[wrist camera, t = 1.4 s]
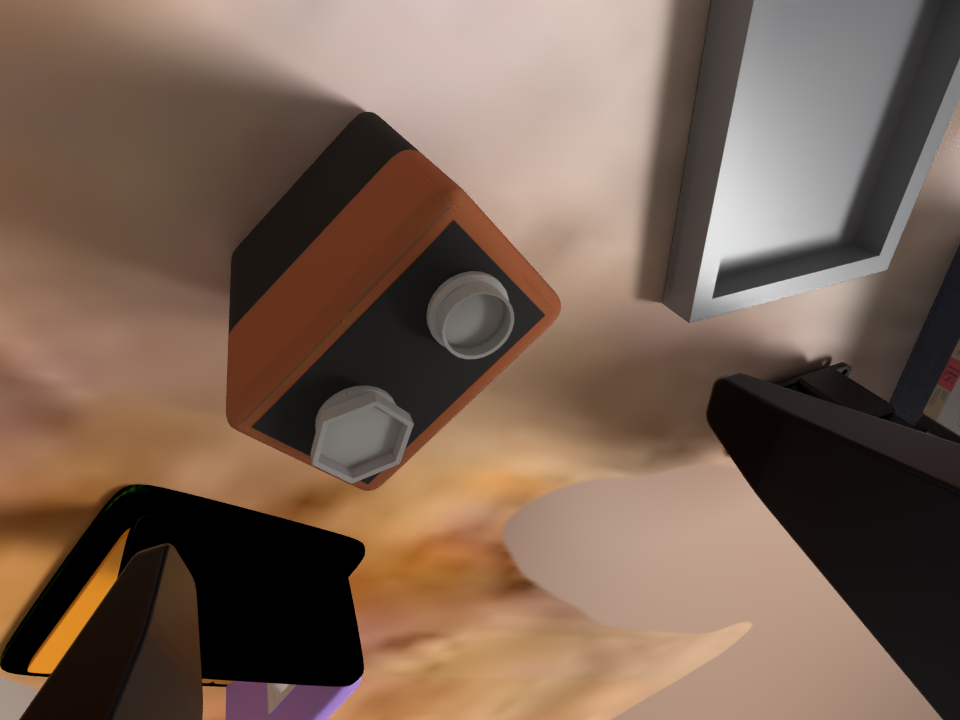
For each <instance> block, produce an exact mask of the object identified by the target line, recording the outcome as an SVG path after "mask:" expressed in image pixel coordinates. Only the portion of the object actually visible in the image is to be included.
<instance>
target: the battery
mask: <svg viewBox="0 0 960 720" xmlns="http://www.w3.org/2000/svg"><path fill="white" fill-rule="evenodd" d="M560 310H561V303H560V299H559V297H558V296H557V294H556V293H555V292H554V290H553V289H552V288H551V287H550V286H549V285H548V283H547V282H546V281H545V280H544V279H543V278H542V277H541V276H540V275H539V273H538V272H537V271H536V270H535V269H534V268H533V267H532V266H531V265H530V263H529V262H528V261H527V260H526V259H525V258H524V257H523V256H522V255H521V253H520V252H519V251H518V250H517V249H516V248H515V247H514V246H513V245H512V243H511V242H510V241H509V240H508V239H507V238H506V237H505V236H504V235H503V233H502V232H501V231H500V230H499V229H498V228H497V227H496V226H495V225H494V223H493V222H492V221H491V220H490V219H489V218H488V217H487V216H486V214H485V213H484V212H483V211H482V210H481V209H480V208H479V207H478V206H477V204H476V203H475V202H474V201H473V200H472V199H471V198H470V197H469V196H468V195H467V194H466V192H465V191H464V190H463V189H462V188H461V187H459V186H458V185H457V184H456V183H455V182H454V181H453V180H451V179H450V178H449V177H448V176H447V175H446V174H445V173H443V172H442V171H441V170H440V169H439V168H438V167H437V166H435V165H434V164H433V163H432V162H431V161H430V160H428V159H427V158H426V157H425V156H424V155H423V154H422V153H420V152H419V151H418V150H417V149H416V148H415V147H414V146H412V145H411V144H410V143H409V142H408V141H407V140H405V139H404V138H403V137H402V136H401V135H400V134H399V133H397V132H396V131H395V130H394V129H393V128H392V127H391V126H389V125H388V124H387V123H386V122H385V121H384V120H383V119H381V118H380V117H379V116H378V115H376V114H375V113H372V112H364V113H361V114H359V115H358V116H356V117H355V118H354V119H353V120H352V121H351V122H350V123H349V124H348V126H347V127H346V128H345V129H344V130H343V131H342V132H341V133H340V134H339V135H338V136H337V138H336V139H335V140H334V141H333V142H332V143H331V144H330V145H329V146H328V148H327V149H326V150H325V151H324V152H323V153H322V154H321V155H320V156H319V157H318V159H317V160H316V161H315V162H314V163H313V164H312V165H311V166H310V167H309V169H308V170H307V171H306V172H305V173H304V174H303V175H302V176H301V177H300V178H299V180H298V181H297V182H296V183H295V184H294V185H293V186H292V187H291V188H290V190H289V191H288V192H287V193H286V194H285V195H284V196H283V197H282V198H281V199H280V201H279V202H278V203H277V204H276V205H275V206H274V207H273V208H272V209H271V211H270V212H269V213H268V214H267V215H266V216H265V217H264V218H263V219H262V220H261V222H260V223H259V224H258V225H257V226H256V227H255V228H254V229H253V230H252V232H251V233H250V234H249V235H248V236H247V237H246V238H245V239H244V240H243V242H242V243H241V244H240V245H239V246H238V247H237V248H236V250H235V251H234V253H233V255H232V259H231V281H230V310H229V339H228V367H227V396H226V416H227V420H228V423H229V424H230V426H231V427H233V428H234V429H236V430H237V431H239V432H242V433H244V434H246V435H248V436H250V437H252V438H254V439H256V440H258V441H260V442H262V443H264V444H267V445H269V446H271V447H273V448H275V449H277V450H279V451H281V452H283V453H285V454H288V455H290V456H292V457H294V458H296V459H298V460H300V461H302V462H304V463H306V464H309V465H311V466H313V467H315V468H317V469H319V470H321V471H323V472H325V473H327V474H330V475H332V476H334V477H336V478H338V479H340V480H342V481H344V482H346V483H348V484H351V485H353V486H355V487H357V488H359V489H362V490H366V491H370V490H374V489H376V488H378V487H379V486H381V485H382V484H383V483H384V482H385V481H387V480H388V479H389V478H390V477H391V476H392V475H393V474H394V473H395V472H396V471H397V470H398V469H399V468H400V467H401V466H403V465H404V464H405V463H406V462H407V461H408V460H409V459H410V458H411V457H412V456H413V455H414V454H415V453H416V452H417V451H418V450H419V449H420V448H422V447H423V446H424V445H425V444H426V443H427V442H428V441H429V440H430V439H431V438H432V437H433V436H434V435H435V434H436V433H437V432H438V431H439V430H441V429H442V428H443V427H444V426H445V425H446V424H447V423H448V422H449V421H450V420H451V419H452V418H453V417H454V416H455V415H456V414H457V413H458V412H460V411H461V410H462V409H463V408H464V407H465V406H466V405H467V404H468V403H469V402H470V401H471V400H472V399H473V398H474V397H475V396H476V395H477V394H479V393H480V392H481V391H482V390H483V389H484V388H485V387H486V386H487V385H488V384H489V383H490V382H491V381H492V380H493V379H494V378H495V377H497V376H498V375H499V374H500V373H501V372H502V371H503V370H504V369H505V368H506V367H507V366H508V365H509V364H510V363H511V362H512V361H513V360H514V359H516V358H517V357H518V356H519V355H520V354H521V353H522V352H523V351H524V350H525V349H526V348H527V347H528V346H529V345H530V344H531V343H532V342H533V341H535V340H536V339H537V338H538V337H539V336H540V335H541V334H542V333H543V332H544V331H545V330H546V329H547V328H548V327H549V326H550V325H551V324H552V323H553V322H554V321H555V320H556V318H557V317H558V315H559V313H560Z"/></svg>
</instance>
